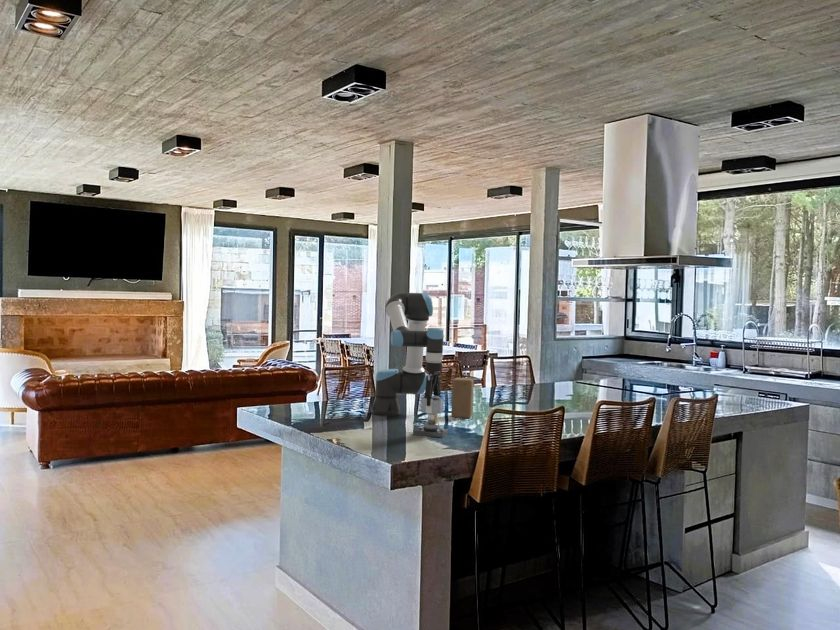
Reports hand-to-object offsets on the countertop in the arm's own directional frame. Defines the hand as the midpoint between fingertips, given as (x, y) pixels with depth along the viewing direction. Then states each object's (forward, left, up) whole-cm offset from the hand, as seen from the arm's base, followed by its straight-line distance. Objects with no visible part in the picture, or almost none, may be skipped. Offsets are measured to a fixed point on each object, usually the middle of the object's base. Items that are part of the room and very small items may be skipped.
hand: (432, 411), depth 321 cm
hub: (0, 0, 0) cm, 0 cm away
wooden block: (0, +54, -11) cm, 55 cm away
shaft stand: (0, 0, -10) cm, 10 cm away
